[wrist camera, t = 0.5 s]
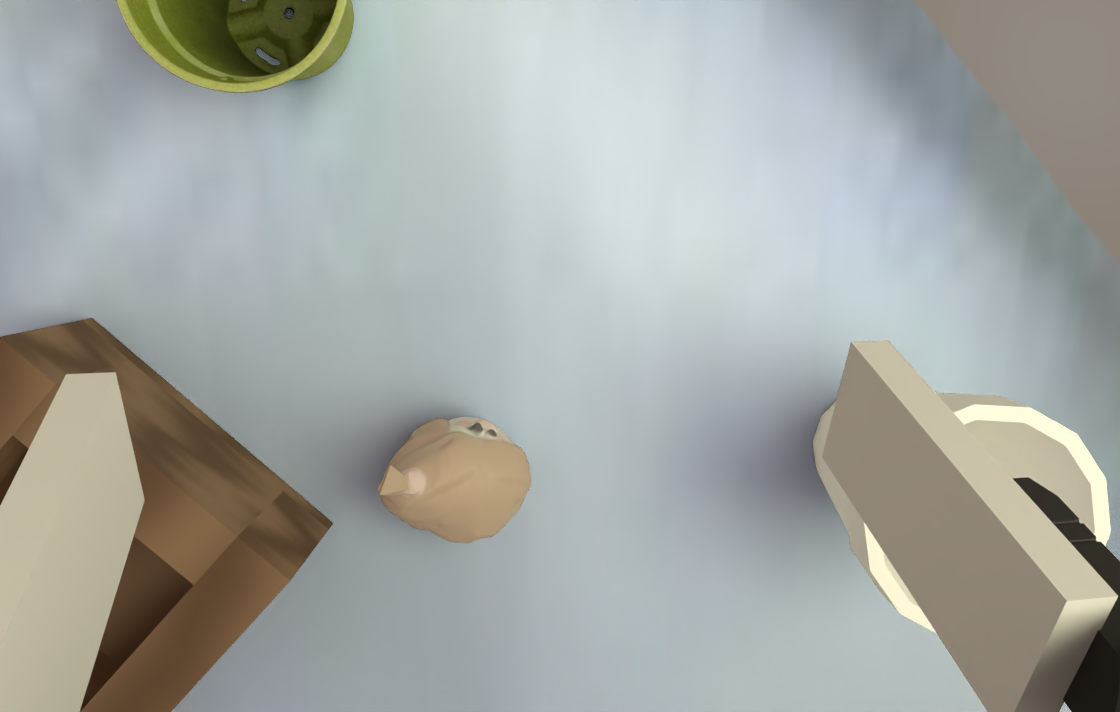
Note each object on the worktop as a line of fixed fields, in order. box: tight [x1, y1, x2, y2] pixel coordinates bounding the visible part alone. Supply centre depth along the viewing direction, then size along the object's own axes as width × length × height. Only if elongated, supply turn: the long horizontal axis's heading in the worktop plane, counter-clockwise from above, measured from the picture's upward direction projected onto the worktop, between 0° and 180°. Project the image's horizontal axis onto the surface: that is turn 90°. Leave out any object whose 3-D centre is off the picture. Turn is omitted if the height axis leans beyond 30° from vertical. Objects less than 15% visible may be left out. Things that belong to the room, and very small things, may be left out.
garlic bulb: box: [377, 417, 531, 543], centre depth 45 cm, size 7×6×8 cm
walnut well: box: [0, 318, 333, 712], centre depth 45 cm, size 16×16×8 cm
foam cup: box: [813, 393, 1111, 633], centre depth 42 cm, size 10×9×13 cm
